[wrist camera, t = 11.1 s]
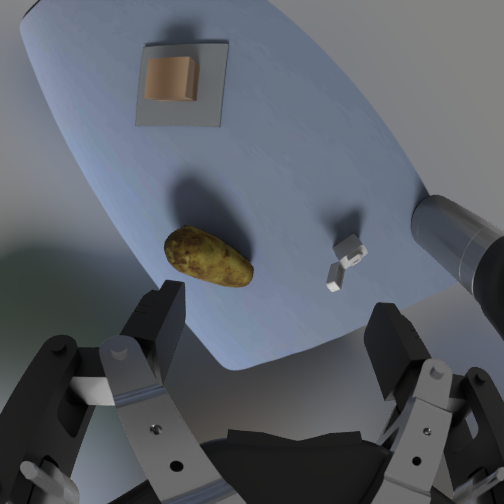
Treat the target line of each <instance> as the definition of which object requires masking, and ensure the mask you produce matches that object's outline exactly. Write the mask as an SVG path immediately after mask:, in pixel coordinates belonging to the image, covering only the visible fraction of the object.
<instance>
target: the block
mask: <svg viewBox="0 0 504 504" xmlns="http://www.w3.org/2000/svg"><path fill="white" fill-rule="evenodd" d="M199 72H200V66H199V65H198V64H197V63H196V62H195V61H194V60H193V59H192V58H191V57H168V58H154V59H149V60H148V67H147V76H146V85H145V95H144V98H147V99H152V100H156V101H196V100H197V90H198V81H199Z"/></svg>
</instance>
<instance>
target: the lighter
mask: <svg viewBox="0 0 504 504" xmlns="http://www.w3.org/2000/svg"><path fill="white" fill-rule="evenodd" d="M333 251H334V252H335V254H336V256H337V258H338V260H339V262H336V263H334V264H331V266H330V270H329V274H328V278H327V282H326V285H327V286H328V288H329V289H330V290H331V292H334V291H337V290H341V287H342V282H343V277H344V272H345V269H346V268H348V267H349V266H350V265H351V266H353V265H355V264H356V263H358V262H359V261H361V260H362V257H363V256H365V255H366V254H368V251H367V250H366V248H365V246H364V245H363V244H362V242H361V241H360V240H359V239H358V237H357V236H356V235H355V234H354V233H353V234H351V235H350V236H349V237H347V238H346V239H344V240H343V241H342V242H340V243H339V244H337V245H336V246H334V247H333Z"/></svg>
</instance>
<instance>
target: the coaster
mask: <svg viewBox="0 0 504 504" xmlns="http://www.w3.org/2000/svg"><path fill="white" fill-rule="evenodd" d="M228 49H229V44H177V45H163V46H152V47H143V53H142V60H141V68H140V76H139V85H138V96H137V108H136V123H135V126H207V127H220V124H221V113H222V103H223V93H224V83H225V74H226V66H227V57H228ZM168 57H191V58H192V59H193V60H194V61H195V62H196V63H197V64H198V65H199V66H200V72H199V81H198V90H197V100H196V101H156V100H152V99H147V98H144V95H145V85H146V76H147V67H148V60H149V59H154V58H168Z"/></svg>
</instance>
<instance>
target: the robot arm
mask: <svg viewBox="0 0 504 504" xmlns="http://www.w3.org/2000/svg"><path fill="white" fill-rule="evenodd" d="M411 231H412V235H413V237H414V239H415V241H416V242H417V243H418V244H419V245H420V246H421V247H422V248H423V249H425V250H426V251H427V252H428V253H429V254H430V255H431V256H432V257H433V258H434V259H435V260H436V261H437V262H438V263H439V264H441V265H442V266H443V267H444V268H445V269H446V270H447V271H448V272H449V273H450V274H451V275H452V276H453V277H454V278H455V279H456V280H457V281H458V282H459V283H460V284H461V285H462V286H463V287H464V288H465V289H466V290H467V291H468V292H469V293H470V294H471V295H472V296H473V297H474V298H475V300H476V301H477V302H479V304H480V305H481V309H482V311H483V313H484V315H485V316H486V317H487V319H488V320H489V321H490V323H491V324H492V325H493V327H494V328H495V329H496V331H497V332H498V333H499V335H500V336H501V338H502V339H503V341H504V231H503V230H502V229H500V228H498V227H497V226H495V225H493V224H492V223H490V222H488V221H487V220H485V219H483V218H482V217H480V216H478V215H476V214H475V213H473V212H471V211H469V210H468V209H466V208H463V207H462V206H460V205H458V204H457V203H455V202H453V201H451V200H449V199H447V198H445V197H443V196H440V195H432V196H429V197H427V198H425V199H424V200H423V201H421V202H420V204H419V205H418V206H417V208H416V210H415V211H414V214H413V217H412V222H411ZM185 317H186V306H185V283H184V282H180V281H172V280H165V282H164V283H163V285H162V287H161V289H160V290H159V291H156V290H151V291H150V292H148V293H147V294H146V295H144V296H143V297H142V299H141V300H140V302H139V304H138V306H137V307H136V308H135V310H134V312H133V313H132V315H131V316H130V318H129V320H128V321H127V323H126V325H125V326H124V328H123V330H122V331H121V333H120V335H117V336H113V337H110V338H108V339H107V340H105V341H104V342H103V343H102V344H101V346H100V347H95V348H90V347H85V348H83V347H78V346H77V343H76V341H75V340H74V339H73V338H72V337H70V336H68V335H57V336H53V337H51V338H49V339H48V340H47V341H46V342H45V343H44V344H43V346H42V347H41V349H40V350H39V352H38V353H37V354H36V356H35V357H34V359H33V361H32V362H31V363H30V365H29V367H28V368H27V370H26V371H25V373H24V374H23V376H22V378H21V379H20V381H19V383H18V384H17V386H16V388H15V389H14V391H13V393H12V394H11V396H10V398H9V400H8V402H7V403H6V405H5V407H4V408H3V411H2V412H1V414H0V504H79V491H78V488H77V486H76V484H75V483H74V482H73V481H72V480H71V479H70V477H71V474H72V470H73V467H74V464H75V461H76V458H77V455H78V452H79V449H80V446H81V444H82V441H83V438H84V435H85V432H86V430H87V427H88V424H89V422H90V419H91V417H92V414H93V411H94V409H95V407H96V405H115V406H116V409H117V412H118V414H119V417H120V419H121V422H122V424H123V427H124V429H125V432H126V434H127V436H128V439H129V441H130V443H131V445H132V447H133V450H134V452H135V454H136V456H137V458H138V460H139V462H140V464H141V466H142V468H143V470H144V472H145V474H146V476H147V478H148V479H147V480H146V481H144V482H143V483H141V484H139V485H138V486H136V487H135V488H133V489H132V490H130V491H128V492H127V493H125V494H123V495H122V496H120V497H118V498H117V499H115V500H113V501H112V502H110V503H108V504H504V402H503V400H502V398H501V396H500V394H499V392H498V390H497V388H496V387H495V385H494V383H493V381H492V379H491V377H490V376H489V374H488V373H487V372H486V371H484V370H483V369H481V368H478V367H472V368H470V369H469V370H468V372H467V373H466V375H465V376H461V375H455V374H452V371H451V369H450V368H449V367H448V365H447V364H445V363H444V362H442V361H440V360H438V359H432V358H431V356H430V354H429V352H428V350H427V349H426V347H425V345H424V343H423V342H422V340H421V339H420V338H419V335H418V333H417V332H416V330H415V328H414V327H413V325H412V323H411V322H410V321H409V320H408V319H407V318H405V317H404V316H403V315H401V313H400V312H399V310H398V308H397V307H396V305H395V304H394V303H381V302H378V303H377V304H376V305H375V307H374V309H373V312H372V315H371V317H370V320H369V322H368V325H367V327H366V329H365V333H364V344H365V347H366V350H367V352H368V355H369V357H370V360H371V363H372V366H373V369H374V371H375V374H376V377H377V380H378V383H379V386H380V389H381V391H382V394H383V398H384V401H391V400H396V405H395V406H394V407H393V409H392V411H391V414H390V416H389V418H388V420H387V422H386V424H385V426H384V428H383V430H382V432H381V434H380V436H379V438H378V440H377V441H376V443H373V442H369V441H365V440H362V438H361V434H360V431H356V432H342V433H329V434H325V435H322V436H318V437H314V438H310V439H306V440H301V441H295V440H291V439H286V438H282V437H278V436H274V435H270V434H267V433H263V432H251V431H240V430H230V429H228V435H227V438H220V439H215V440H210V441H207V442H204V443H201V444H198V443H197V441H196V439H195V438H194V436H193V435H192V433H191V432H190V430H189V428H188V427H187V425H186V424H185V422H184V420H183V419H182V417H181V415H180V414H179V412H178V411H177V409H176V407H175V405H174V403H173V402H172V400H171V398H170V396H169V395H168V393H167V391H166V390H165V388H164V387H163V385H164V382H165V379H166V376H167V373H168V370H169V367H170V364H171V362H172V359H173V356H174V353H175V350H176V347H177V345H178V342H179V339H180V336H181V333H182V331H183V328H184V324H185ZM471 412H473V414H474V417H475V419H476V421H477V424H478V428H479V429H478V434H477V436H476V437H475V438H474V439H473V438H472V436H471V433H470V431H469V427H468V425H467V422H466V420H465V418H466V417H467V416H468V415H469V414H470V413H471ZM443 452H444V455H445V459H446V463H447V466H448V470H449V474H450V478H451V482H452V487H453V491H454V494H453V499H452V500H451V499H449V498H448V497H447V496H445V495H444V494H443V493H441V492H440V491H439V490H437V489H436V488H435V487H433V486H432V483H433V481H434V478H435V475H436V472H437V469H438V466H439V463H440V460H441V456H442V453H443Z"/></svg>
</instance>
